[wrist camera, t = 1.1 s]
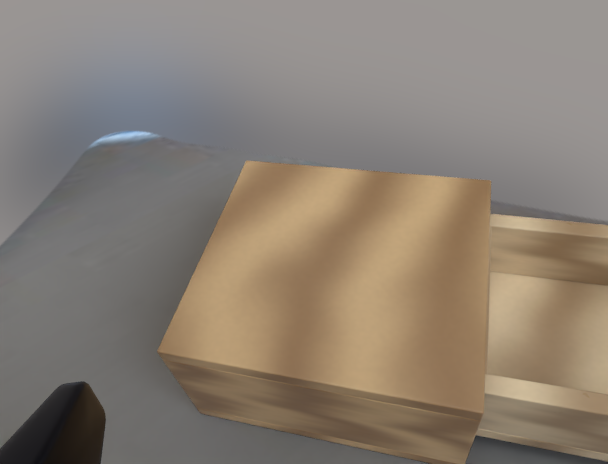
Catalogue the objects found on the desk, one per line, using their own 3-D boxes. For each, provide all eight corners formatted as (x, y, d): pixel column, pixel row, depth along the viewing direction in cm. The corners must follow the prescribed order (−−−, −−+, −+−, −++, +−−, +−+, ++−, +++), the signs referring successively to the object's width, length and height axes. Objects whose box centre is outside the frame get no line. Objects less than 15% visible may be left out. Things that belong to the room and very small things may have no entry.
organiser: (473, 261, 29) (491, 179, 24) (462, 470, 22) (484, 414, 17) (266, 237, 32) (246, 160, 27) (199, 413, 25) (155, 351, 20)
